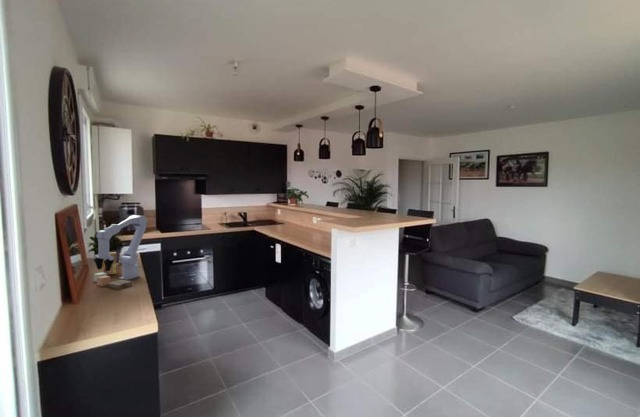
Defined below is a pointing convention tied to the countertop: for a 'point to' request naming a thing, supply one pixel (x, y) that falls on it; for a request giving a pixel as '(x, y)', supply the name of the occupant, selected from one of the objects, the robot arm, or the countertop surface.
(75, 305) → the countertop surface
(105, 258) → the robot arm
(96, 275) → the sage cube
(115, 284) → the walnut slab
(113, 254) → the candy box
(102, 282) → the terracotta cube
